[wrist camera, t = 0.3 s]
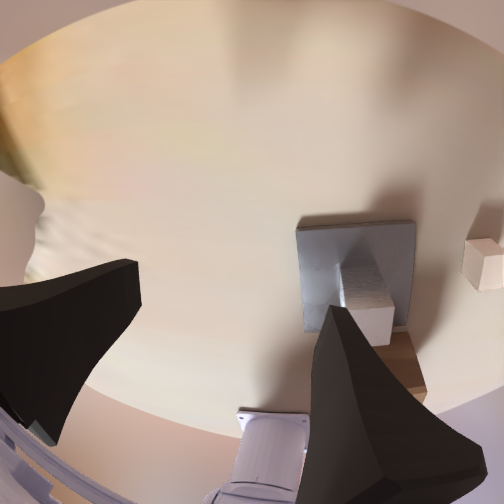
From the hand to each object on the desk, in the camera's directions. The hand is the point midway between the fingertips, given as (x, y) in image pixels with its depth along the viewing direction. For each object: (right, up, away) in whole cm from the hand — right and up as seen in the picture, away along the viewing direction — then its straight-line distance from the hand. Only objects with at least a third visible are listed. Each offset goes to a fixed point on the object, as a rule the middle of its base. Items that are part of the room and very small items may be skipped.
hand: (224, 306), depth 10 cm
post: (+8, 0, +9) cm, 12 cm away
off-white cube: (+18, +2, +6) cm, 19 cm away
